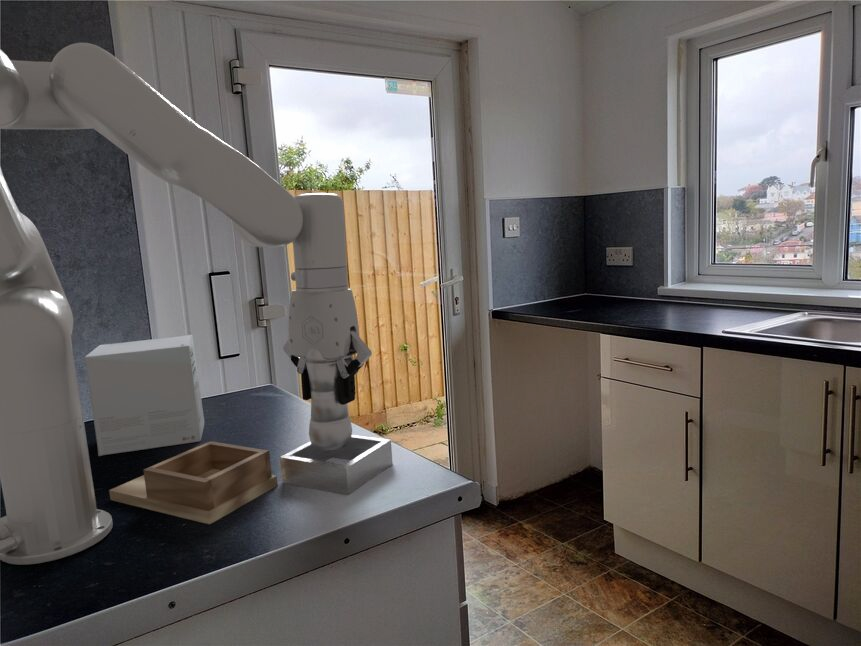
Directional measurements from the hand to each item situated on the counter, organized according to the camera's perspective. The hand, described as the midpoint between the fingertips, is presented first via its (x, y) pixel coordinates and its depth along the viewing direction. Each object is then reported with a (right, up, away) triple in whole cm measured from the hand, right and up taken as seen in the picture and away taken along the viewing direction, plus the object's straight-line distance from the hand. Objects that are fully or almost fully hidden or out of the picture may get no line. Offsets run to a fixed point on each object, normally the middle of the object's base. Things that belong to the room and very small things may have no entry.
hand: (328, 399), depth 93 cm
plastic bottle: (0, -8, +1) cm, 8 cm away
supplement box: (-37, -10, +24) cm, 45 cm away
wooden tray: (-19, -13, -2) cm, 24 cm away
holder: (+1, -12, +2) cm, 12 cm away
